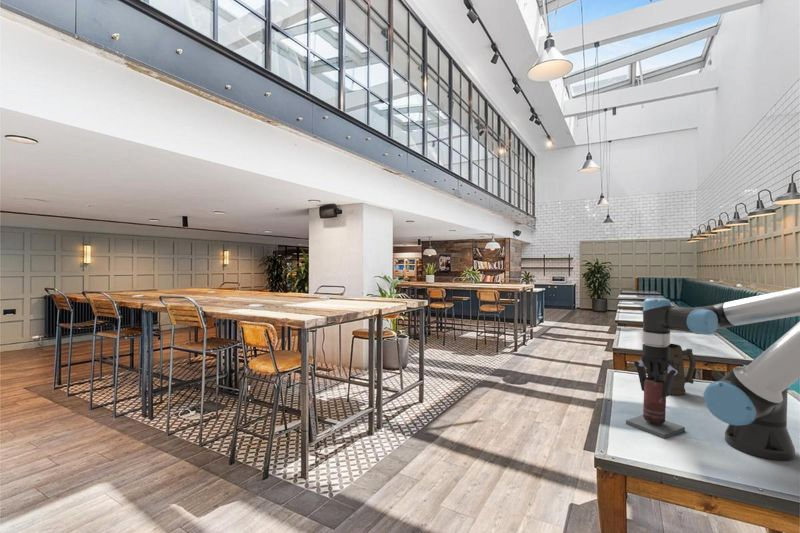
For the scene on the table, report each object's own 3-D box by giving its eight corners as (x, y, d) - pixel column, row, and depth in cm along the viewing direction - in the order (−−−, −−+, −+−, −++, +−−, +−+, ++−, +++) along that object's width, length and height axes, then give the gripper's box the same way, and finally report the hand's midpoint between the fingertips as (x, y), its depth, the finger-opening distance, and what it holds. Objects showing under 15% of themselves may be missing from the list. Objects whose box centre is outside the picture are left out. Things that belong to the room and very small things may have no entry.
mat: (684, 430, 122) (684, 427, 122) (664, 438, 117) (664, 434, 117) (646, 417, 133) (646, 413, 133) (625, 423, 127) (626, 420, 127)
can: (657, 416, 128) (659, 376, 128) (669, 425, 122) (670, 382, 121) (639, 415, 129) (640, 375, 128) (649, 423, 122) (650, 381, 122)
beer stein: (663, 395, 154) (664, 347, 154) (647, 386, 165) (647, 341, 165) (701, 396, 154) (702, 348, 153) (683, 387, 164) (683, 342, 164)
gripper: (684, 347, 120) (683, 420, 121) (642, 339, 132) (641, 406, 132) (671, 350, 117) (670, 424, 117) (629, 341, 128) (628, 409, 129)
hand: (654, 414), depth 125 cm, fingers closed
